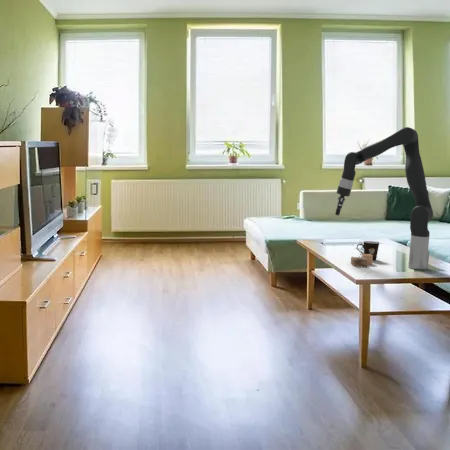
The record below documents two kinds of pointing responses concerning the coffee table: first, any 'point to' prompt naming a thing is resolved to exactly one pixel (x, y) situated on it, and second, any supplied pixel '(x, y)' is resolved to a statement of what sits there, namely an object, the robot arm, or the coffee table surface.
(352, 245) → the coffee table surface
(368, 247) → the coffee mug
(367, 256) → the terracotta cube
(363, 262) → the walnut box
